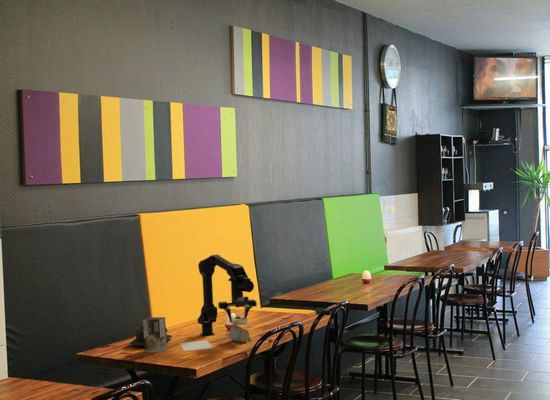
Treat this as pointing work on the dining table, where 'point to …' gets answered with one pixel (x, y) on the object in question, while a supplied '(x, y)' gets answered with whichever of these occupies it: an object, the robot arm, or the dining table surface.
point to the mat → (196, 345)
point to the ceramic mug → (239, 334)
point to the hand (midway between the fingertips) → (238, 321)
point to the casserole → (140, 336)
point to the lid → (238, 320)
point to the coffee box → (154, 334)
